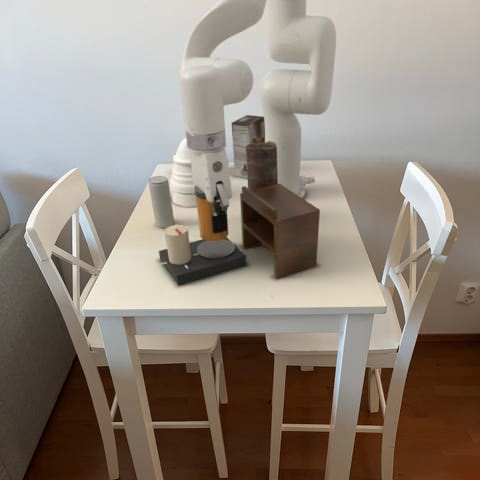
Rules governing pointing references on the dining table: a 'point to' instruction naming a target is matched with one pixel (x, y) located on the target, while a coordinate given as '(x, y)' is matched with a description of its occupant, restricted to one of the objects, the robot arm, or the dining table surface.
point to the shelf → (281, 227)
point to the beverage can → (161, 201)
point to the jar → (207, 217)
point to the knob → (178, 244)
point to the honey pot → (182, 178)
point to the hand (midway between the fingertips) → (213, 224)
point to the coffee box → (246, 140)
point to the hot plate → (201, 264)
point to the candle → (261, 165)
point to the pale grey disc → (216, 249)
